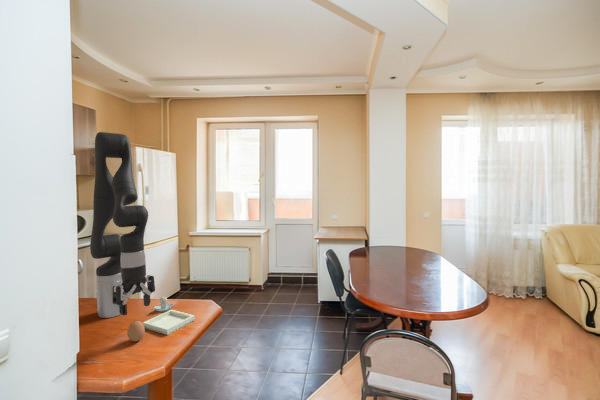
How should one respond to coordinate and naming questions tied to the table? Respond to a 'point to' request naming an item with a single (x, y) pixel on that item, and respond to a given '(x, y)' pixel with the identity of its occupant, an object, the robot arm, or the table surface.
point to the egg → (136, 331)
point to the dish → (169, 322)
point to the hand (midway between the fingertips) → (135, 310)
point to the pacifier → (163, 305)
